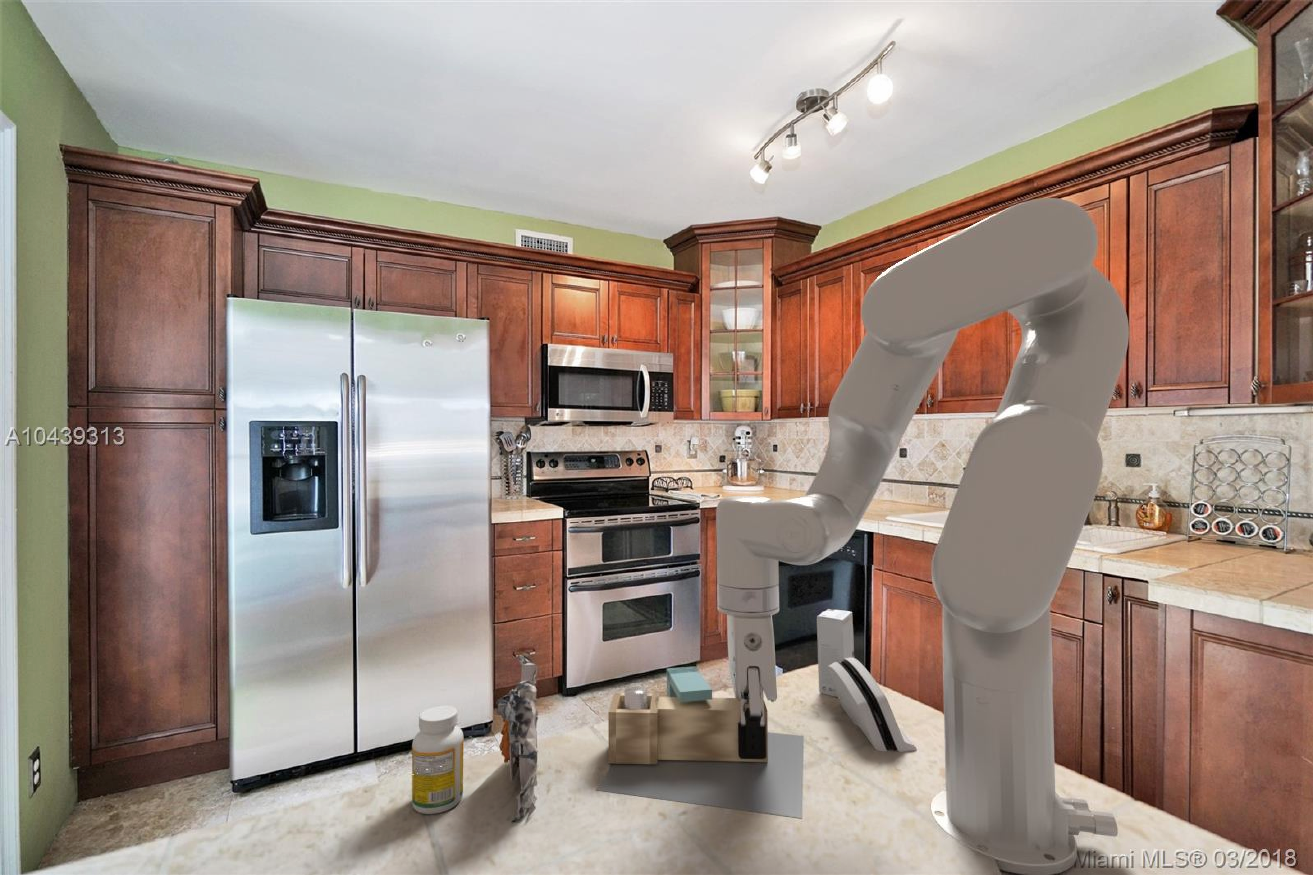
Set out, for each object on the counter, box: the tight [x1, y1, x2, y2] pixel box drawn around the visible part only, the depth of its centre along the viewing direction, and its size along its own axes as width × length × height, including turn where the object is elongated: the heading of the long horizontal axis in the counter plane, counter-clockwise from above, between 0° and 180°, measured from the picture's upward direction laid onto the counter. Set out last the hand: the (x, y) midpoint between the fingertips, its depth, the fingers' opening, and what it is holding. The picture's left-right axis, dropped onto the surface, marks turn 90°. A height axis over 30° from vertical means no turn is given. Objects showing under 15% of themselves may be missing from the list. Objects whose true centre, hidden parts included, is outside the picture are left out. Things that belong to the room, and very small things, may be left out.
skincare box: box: [816, 608, 855, 698], centre depth 96 cm, size 6×4×12 cm
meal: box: [495, 654, 539, 823], centre depth 67 cm, size 15×4×13 cm, turn 11°
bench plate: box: [595, 731, 805, 819], centre depth 71 cm, size 22×18×1 cm
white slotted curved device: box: [828, 657, 918, 752], centre depth 82 cm, size 17×5×10 cm, turn 179°
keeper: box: [666, 665, 713, 702], centre depth 76 cm, size 4×8×8 cm, turn 11°
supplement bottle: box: [411, 705, 465, 815], centre depth 66 cm, size 5×5×10 cm
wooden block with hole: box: [607, 692, 769, 764], centre depth 73 cm, size 19×6×6 cm, turn 87°
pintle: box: [624, 685, 648, 710], centre depth 74 cm, size 3×3×8 cm
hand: (750, 747), depth 73 cm, fingers closed on wooden block with hole, 3 cm apart
